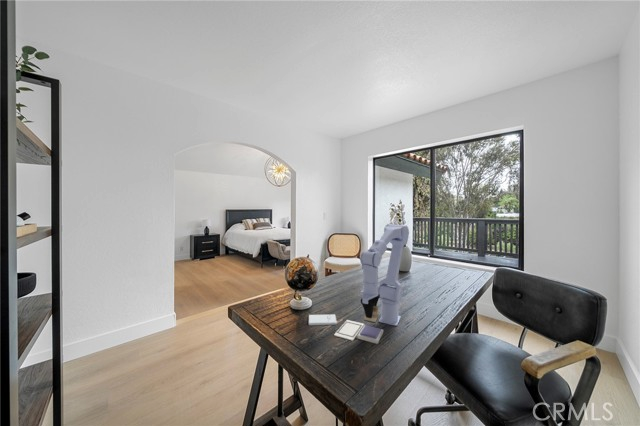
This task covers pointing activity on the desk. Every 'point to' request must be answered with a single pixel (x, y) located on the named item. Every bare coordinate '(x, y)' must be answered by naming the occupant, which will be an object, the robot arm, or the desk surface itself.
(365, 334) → the ink pad
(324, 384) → the desk surface
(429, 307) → the desk surface
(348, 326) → the print card
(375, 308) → the stamp
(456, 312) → the desk surface
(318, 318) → the external hard drive
